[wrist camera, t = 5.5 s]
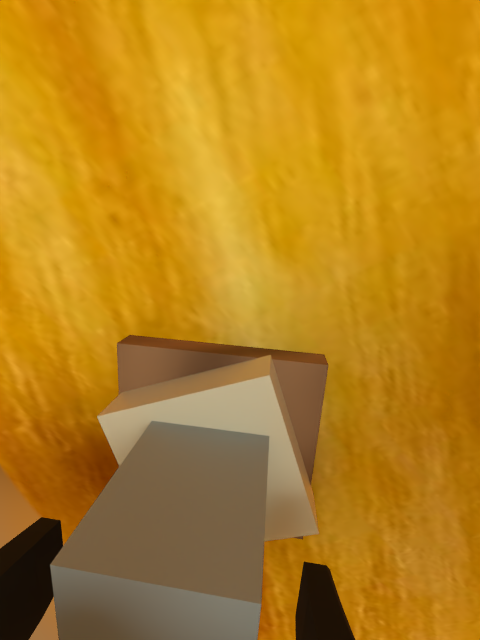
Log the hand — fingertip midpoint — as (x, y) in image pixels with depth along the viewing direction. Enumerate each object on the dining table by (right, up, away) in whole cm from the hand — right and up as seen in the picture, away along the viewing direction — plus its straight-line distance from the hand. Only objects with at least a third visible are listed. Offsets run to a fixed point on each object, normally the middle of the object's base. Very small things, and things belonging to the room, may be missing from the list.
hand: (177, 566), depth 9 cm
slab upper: (+1, +2, +5) cm, 5 cm away
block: (+1, +1, +3) cm, 3 cm away
